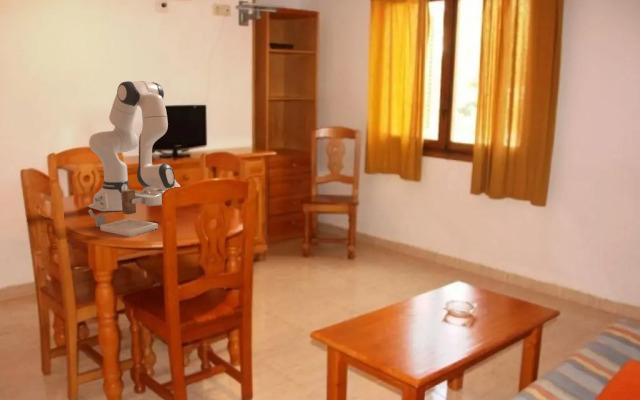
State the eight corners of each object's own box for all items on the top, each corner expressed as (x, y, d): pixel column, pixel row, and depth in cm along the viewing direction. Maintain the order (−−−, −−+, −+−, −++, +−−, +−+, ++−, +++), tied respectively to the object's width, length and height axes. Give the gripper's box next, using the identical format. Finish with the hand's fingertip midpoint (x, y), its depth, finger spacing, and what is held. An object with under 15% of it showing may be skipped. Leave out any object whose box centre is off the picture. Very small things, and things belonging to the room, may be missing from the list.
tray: (100, 230, 259) (100, 225, 258) (129, 223, 272) (129, 218, 272) (129, 236, 250) (129, 231, 249) (158, 229, 263) (157, 223, 263)
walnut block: (122, 213, 259) (121, 190, 257) (129, 211, 262) (128, 189, 260) (128, 214, 257) (127, 191, 255) (136, 212, 260) (134, 190, 258)
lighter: (105, 225, 268) (104, 207, 266) (106, 225, 267) (105, 208, 265) (88, 226, 264) (87, 209, 263) (89, 227, 263) (88, 210, 261)
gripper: (134, 186, 274) (110, 191, 262) (167, 191, 263) (143, 196, 252) (135, 200, 275) (111, 205, 263) (167, 205, 265) (143, 211, 253)
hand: (127, 201), depth 257 cm, fingers closed on walnut block, 4 cm apart
